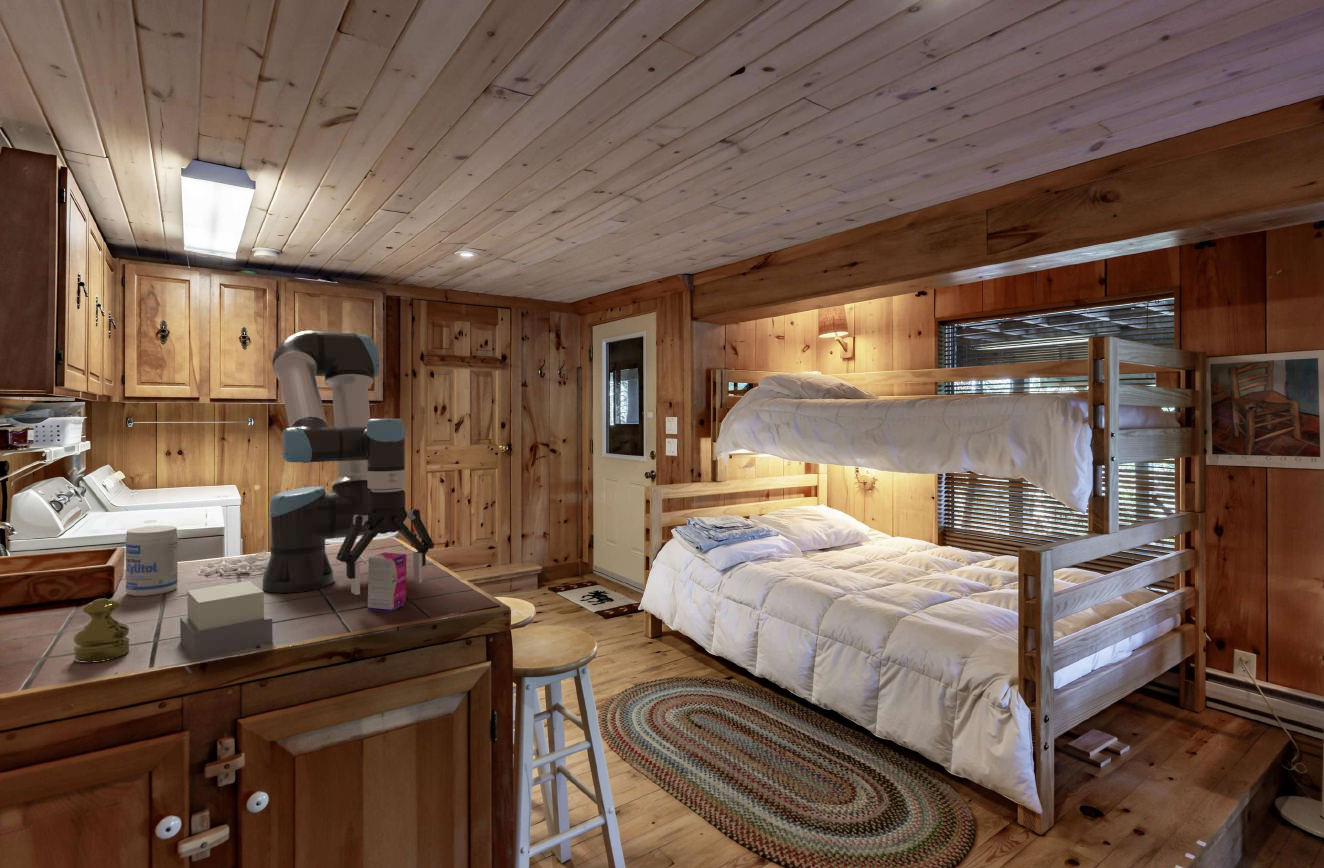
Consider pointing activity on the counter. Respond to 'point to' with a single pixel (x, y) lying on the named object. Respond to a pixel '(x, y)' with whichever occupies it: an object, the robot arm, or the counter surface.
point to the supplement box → (386, 582)
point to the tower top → (225, 605)
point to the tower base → (225, 637)
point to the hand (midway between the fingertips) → (387, 587)
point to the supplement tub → (151, 560)
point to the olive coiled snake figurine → (101, 633)
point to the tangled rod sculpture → (236, 565)
